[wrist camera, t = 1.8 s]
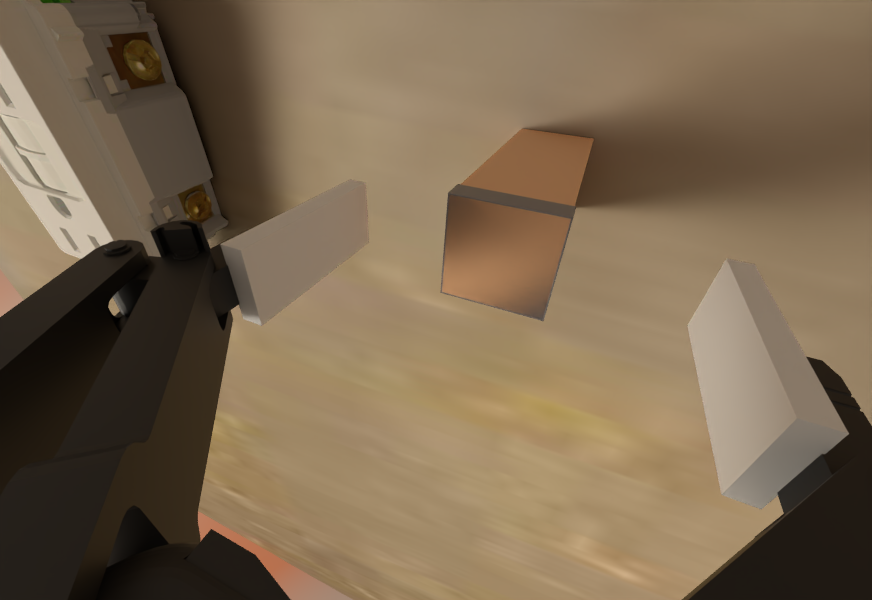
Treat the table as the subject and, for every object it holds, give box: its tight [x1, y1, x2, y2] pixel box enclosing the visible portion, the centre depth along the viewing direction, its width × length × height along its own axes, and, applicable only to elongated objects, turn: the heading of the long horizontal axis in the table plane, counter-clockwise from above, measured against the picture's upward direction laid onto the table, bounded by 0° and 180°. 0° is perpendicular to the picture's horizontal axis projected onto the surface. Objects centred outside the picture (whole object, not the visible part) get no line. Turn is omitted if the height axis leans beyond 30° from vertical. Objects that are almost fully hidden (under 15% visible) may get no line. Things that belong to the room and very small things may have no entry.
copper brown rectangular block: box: [441, 129, 594, 321], centre depth 18 cm, size 4×4×12 cm
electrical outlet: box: [0, 0, 228, 259], centre depth 29 cm, size 12×28×10 cm, turn 175°
